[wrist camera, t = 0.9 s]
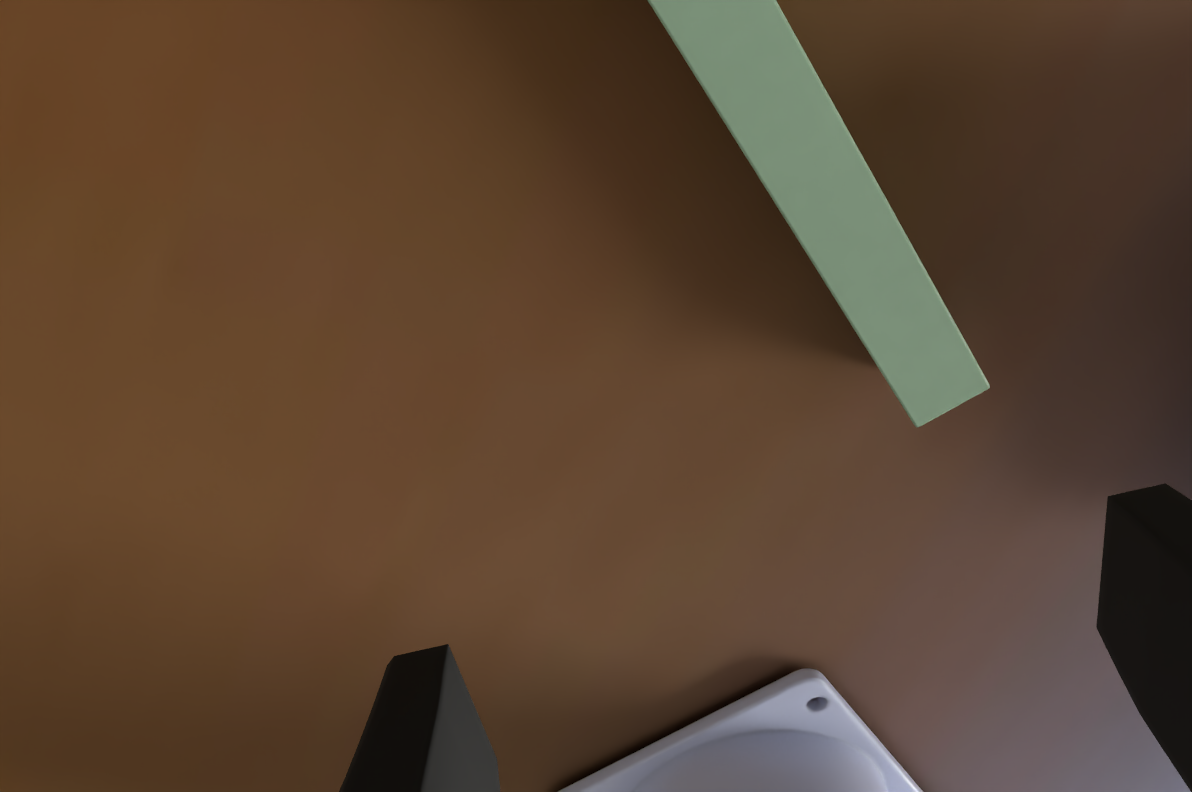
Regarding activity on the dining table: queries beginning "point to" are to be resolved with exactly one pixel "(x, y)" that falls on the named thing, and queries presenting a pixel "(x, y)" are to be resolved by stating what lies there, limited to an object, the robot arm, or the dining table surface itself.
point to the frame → (826, 195)
